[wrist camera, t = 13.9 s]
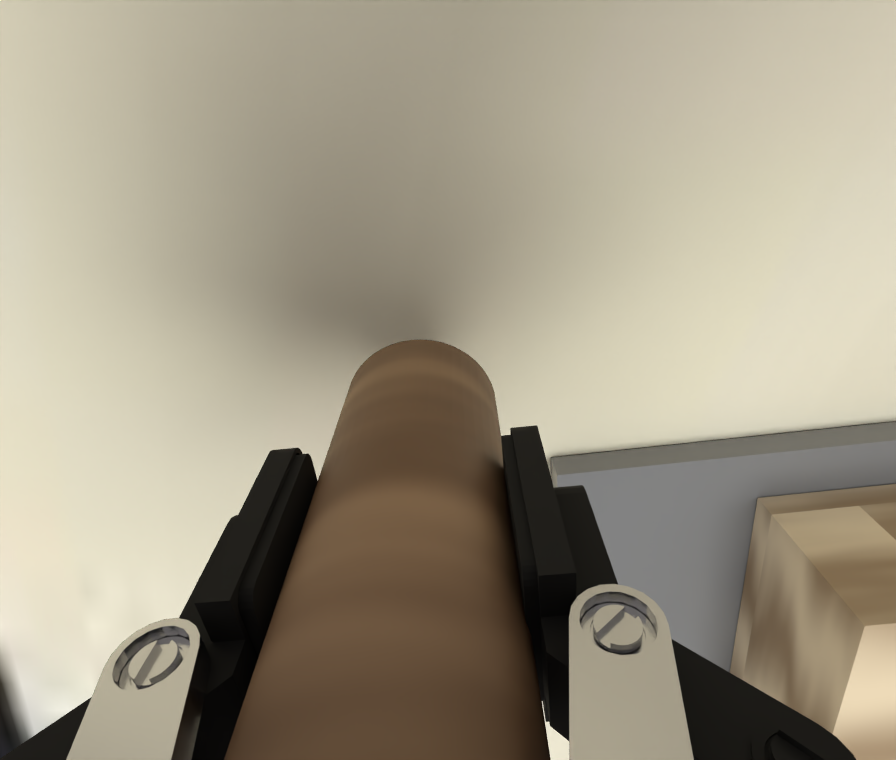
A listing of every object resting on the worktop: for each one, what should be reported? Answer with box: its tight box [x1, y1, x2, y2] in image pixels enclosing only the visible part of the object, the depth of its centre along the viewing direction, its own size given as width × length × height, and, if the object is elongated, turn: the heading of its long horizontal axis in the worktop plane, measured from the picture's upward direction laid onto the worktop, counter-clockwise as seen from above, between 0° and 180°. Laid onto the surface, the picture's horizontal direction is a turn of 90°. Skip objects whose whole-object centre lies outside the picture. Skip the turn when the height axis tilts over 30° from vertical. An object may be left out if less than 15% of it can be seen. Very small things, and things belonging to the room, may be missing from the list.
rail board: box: [551, 422, 896, 672], centre depth 21 cm, size 16×22×9 cm
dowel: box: [224, 340, 550, 760], centre depth 10 cm, size 4×4×12 cm
